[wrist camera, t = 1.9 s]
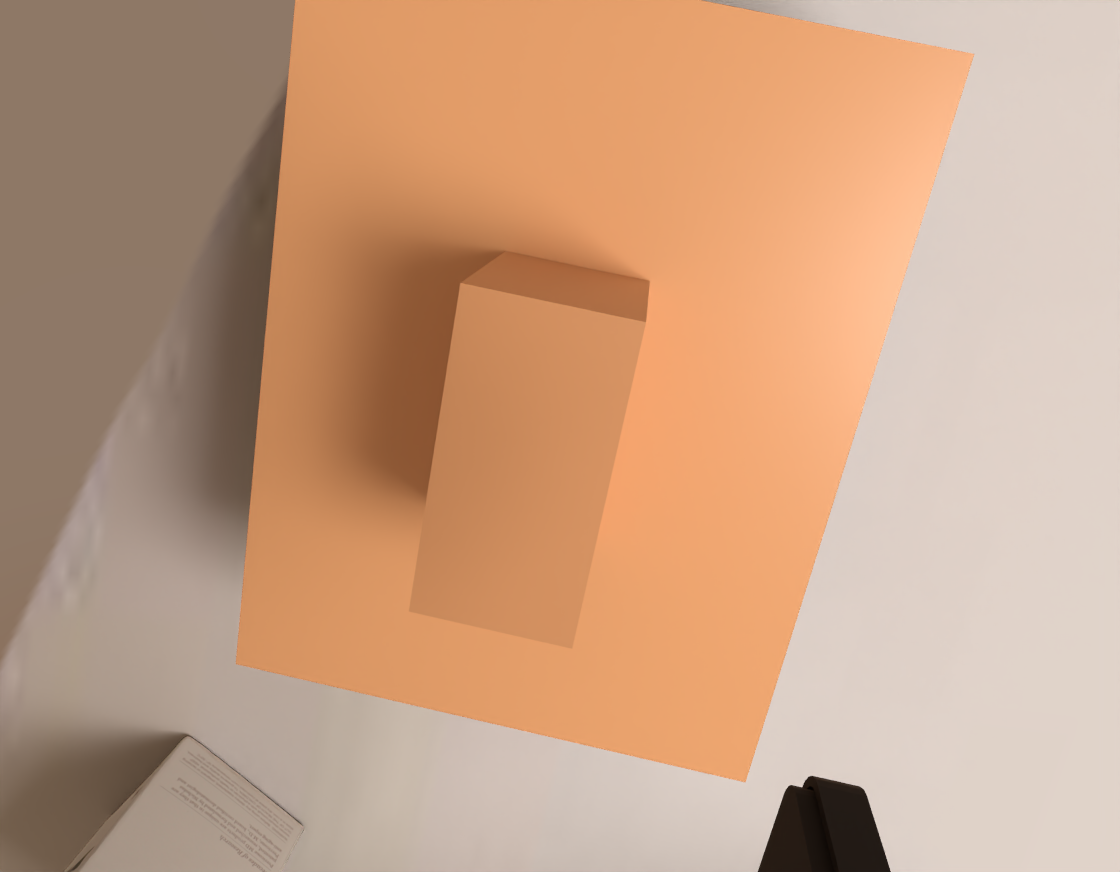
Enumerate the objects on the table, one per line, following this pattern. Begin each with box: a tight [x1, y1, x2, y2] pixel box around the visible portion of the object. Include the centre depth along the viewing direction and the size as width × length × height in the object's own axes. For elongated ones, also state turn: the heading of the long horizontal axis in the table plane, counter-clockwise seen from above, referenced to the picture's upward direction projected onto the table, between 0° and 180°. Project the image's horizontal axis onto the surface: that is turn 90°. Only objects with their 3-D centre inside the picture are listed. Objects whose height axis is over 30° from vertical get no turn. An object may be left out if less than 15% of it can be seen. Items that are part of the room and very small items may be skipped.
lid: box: [236, 0, 974, 782], centre depth 25 cm, size 17×22×9 cm
